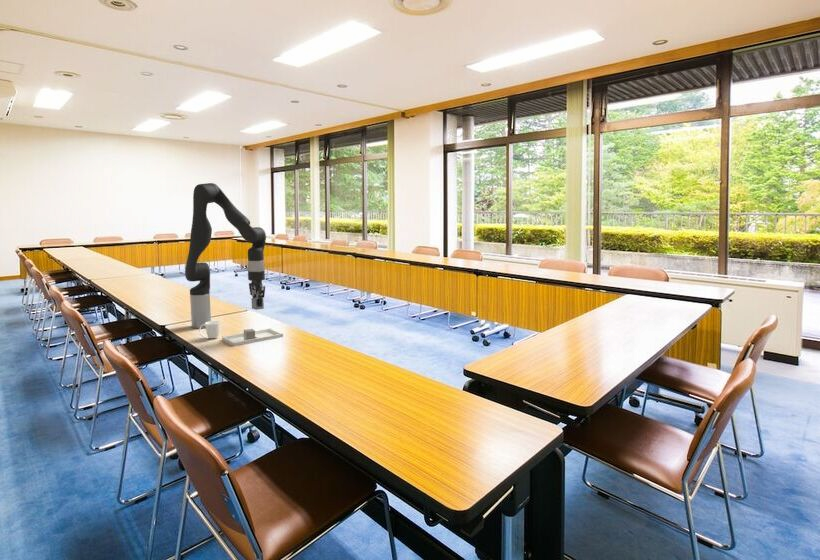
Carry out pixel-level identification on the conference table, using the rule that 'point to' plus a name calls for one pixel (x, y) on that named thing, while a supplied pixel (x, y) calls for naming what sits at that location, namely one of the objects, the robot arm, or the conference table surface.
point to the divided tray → (259, 336)
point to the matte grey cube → (254, 304)
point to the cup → (211, 329)
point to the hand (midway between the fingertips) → (257, 305)
